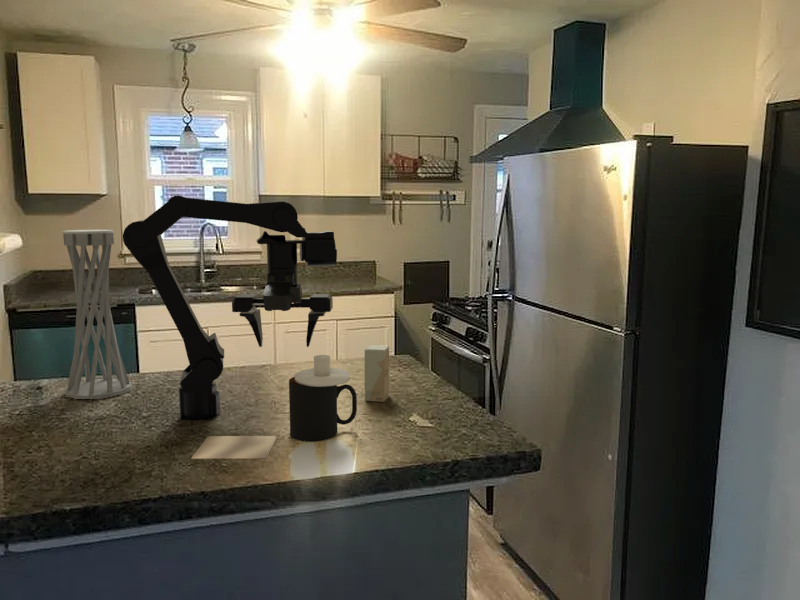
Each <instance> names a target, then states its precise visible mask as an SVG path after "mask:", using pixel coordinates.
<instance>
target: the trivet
mask: <svg viewBox="0 0 800 600" xmlns="http://www.w3.org/2000/svg"><path fill="white" fill-rule="evenodd" d="M277 438H278V435H235V436H234V435H226V436H225V435H224V436H223V435H220V436H219V435H216V436H215V435H211V436H210V435H209V436H207V437H206V438H205V440H204V441H203V442H202V444H201V445H200V446H199V447H198V449H197V450H196V451H195V452H194V454H193V455H192V456H191V457H190V459H191V460H217V459H218V460H228V459H229V460H233V459H234V460H242V459H243V460H248V459H249V460H250V459H251V460H252V459H253V460H254V459H255V460H256V459H257V460H258V459H262V460H264V459H267V458H268V456H269V454H270V452H271V450H272V448H273V446H274V444H275V442H276V440H277Z"/></svg>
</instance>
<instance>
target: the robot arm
mask: <svg viewBox="0 0 800 600" xmlns="http://www.w3.org/2000/svg"><path fill="white" fill-rule="evenodd" d="M182 218H189V219H191V218H192V219H202V220H213V221H220V222H221V221H222V222H223V221H224V222H232V223H234V222H235V223H242V224H243V223H245V224H249V225H253V226H257V227H260V228H264V229H267V230H270V231H274V232H278V233H286V232H287V233H288V234H290V235H292V236H293V237H295V238H301V239H286V236H285V234H269V233H268V232H267V231H266V230H265V231H263V233H262V235H260V237H258V238H257V239H256V243H257V244H258V245H266V261H267V262H266V265H267V271H266V272H267V274H266V275H267V276H266V277H267V278H266V279H267V281H266V285H265V288H264V290H263V294H262V297H263V298H262V297H259V296H258V293H241V294H238V295H237V296H234V298H233V299H232V301H231V309H232V311H231V312H232V313H239V316H240V317H244V318H245V320H247V321H248V323H249V325H250V327H251V329H252V331H253V333H254V337H255V340H256V341H257V344H258V347H259V348H262V347H263V342H264V341H263V338H264V337H263V329H262V327H263V325H262V319H261V317H262V316H261V308H262V309H264V310H265V311H267V312H272V311H282V312H286V311H289V310H291V308H292V309H293V308H298V309H299V308H302V309H304V308H305V309H307V308H308V309H309V310H310V311H309V312H308V316H307V319H308V320H307V329H306V330H307V331H306V338H305V339H306V341H305V342H306V347H307V348H309V347H310V344H311V341H312V338H313V335H314V332H315V328H316V325H317V322H318V320H319V318H320V317H323V316H326V315H325V314H326V313H329V312H330V313H331V312H332V309H333V301H334V300H333V296H332V295H331V294H330V293H313V294H311V295H310V296H309V297H303V291H302V290H303V289H302V284H301V283H299V282H298V281H299V279H298V278H299V275H298V272H299V271H298V244H299V260H300V262H305V267H335V266H336V265H337V260H338V248H336V239H335V231H332V230H326V231H322V232H320V231H319V232H314V231H313V232H307V230H306V228H305V227H303V226H302V224H301V222H300V221H298V220H299V218H298V212H297V210H296V208H295V207H294V205H292V204H291V203H290V202H286V201H269V202H267V201H265V202H255V203H254V202H253V203H241V202H232V201H231V202H230V201H222V200H211V199H203V198H193V197H186V196H182V195H173V196H171V197H170V198H169V199H168V200H167V202H165V203H164V204H162V206H160V207H159V208H158V209H157V210H155V211H154V212H152V213H151V214H150V215H149V216H148V217H146V218H145V219H143V220H142V219H141V220H137V221H133V222H130V223H129V224H128V225H127V226H126V227H125V228H124V229H123V233H122V241H123V244H124V245H125V247H126V248H127V250H128V252H130V254H131V255H132V257H134V259H135V260H136V262H138V263H139V264H140V265H141V267H142V268H143V269H144V270H145V271H146V272H147V273H148V275H149V277H150V279H151V280H152V283H153V285H154V286H155V289H156V290H157V292H158V294H159V296H160V298H161V300H162V302H163V304H164V305H165V307H166V309H167V311H168V313H169V316H170V317H171V319H172V321H173V323H174V324H175V327H176V329H177V331H178V333H179V334H180V336H181V338H182V340H183V343H184V348H185V353H186V356H187V360H188V363H189V365H187V366H186V368H185V369H183V370H182V375H181V378H180V381H179V384H180V386H179V388H178V392H179V411H180V415H179V417H178V418H177V420H178V421H213V419H214V418H215V417H216V416H217V415H218V414H219V413H220V412H221V399H220V398H221V397H220V395H221V394H220V391H217V383H215V382H214V381H215V380H217V379H218V378H219V377H220V376H221V374H222V373H223V370H224V358H225V348H223V347H222V346H221V344H220V342H219V341H218V337H217V334H216V332H213V333H212V334H210V335H209V334H207V333H206V332H205V330H204V329H203V328H202V325H201V324H200V321H198V318H197V316H196V315H195V312H194V310H193V308H192V307H191V304H190V303H189V301H188V299H187V297H186V294H185V292H184V291H183V289H182V287H181V285H180V283H179V282H178V280H177V277H176V276H175V273H174V271H173V269H172V268H171V265H170V263H169V261H168V257H167V256H168V255H167V252H166V248H165V245H164V241H163V237H162V234H164V233H165V232H166V231H167V230H168V229H170V228H171V227H173V226H174V225H175V224H176V223H177V222H179V220H181V219H182Z"/></svg>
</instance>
